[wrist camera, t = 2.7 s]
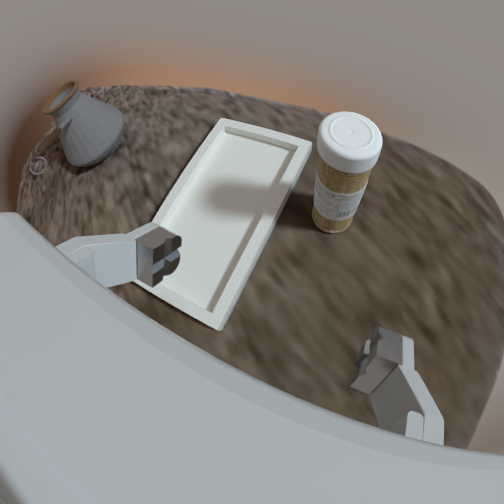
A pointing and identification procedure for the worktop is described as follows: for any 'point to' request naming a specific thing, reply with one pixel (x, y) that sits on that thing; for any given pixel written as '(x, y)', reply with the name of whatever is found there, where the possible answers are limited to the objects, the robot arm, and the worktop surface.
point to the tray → (226, 215)
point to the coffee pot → (81, 127)
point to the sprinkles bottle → (343, 168)
